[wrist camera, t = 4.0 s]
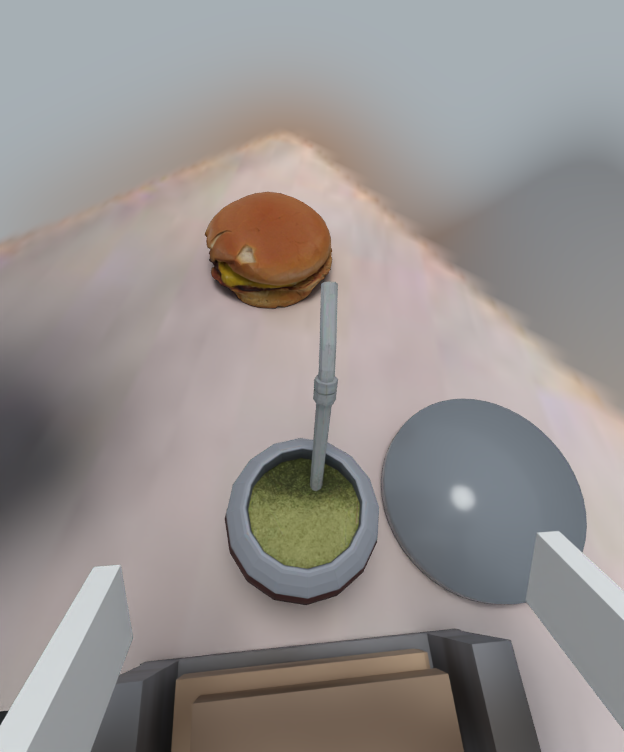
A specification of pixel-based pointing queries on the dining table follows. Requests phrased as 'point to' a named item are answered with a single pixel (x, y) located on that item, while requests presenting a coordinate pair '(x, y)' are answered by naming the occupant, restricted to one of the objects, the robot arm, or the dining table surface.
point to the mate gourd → (305, 502)
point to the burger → (269, 249)
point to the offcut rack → (328, 699)
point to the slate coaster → (478, 497)
